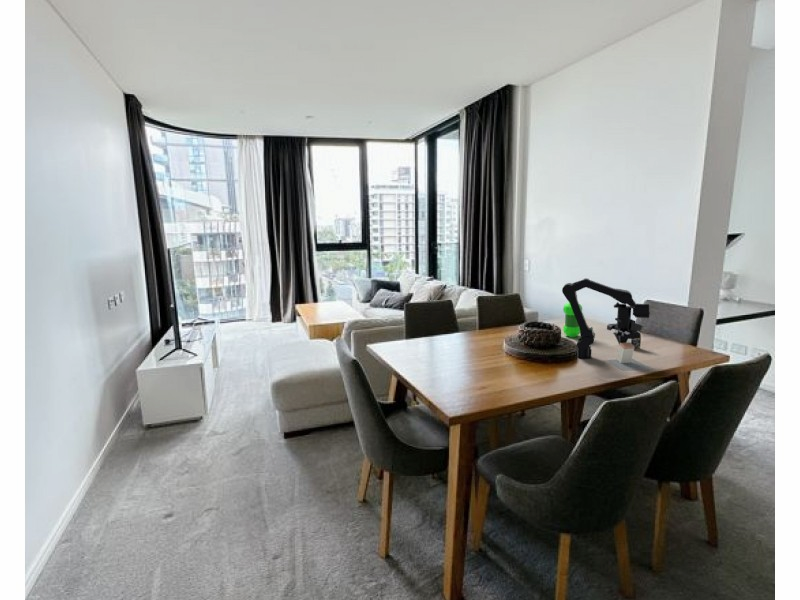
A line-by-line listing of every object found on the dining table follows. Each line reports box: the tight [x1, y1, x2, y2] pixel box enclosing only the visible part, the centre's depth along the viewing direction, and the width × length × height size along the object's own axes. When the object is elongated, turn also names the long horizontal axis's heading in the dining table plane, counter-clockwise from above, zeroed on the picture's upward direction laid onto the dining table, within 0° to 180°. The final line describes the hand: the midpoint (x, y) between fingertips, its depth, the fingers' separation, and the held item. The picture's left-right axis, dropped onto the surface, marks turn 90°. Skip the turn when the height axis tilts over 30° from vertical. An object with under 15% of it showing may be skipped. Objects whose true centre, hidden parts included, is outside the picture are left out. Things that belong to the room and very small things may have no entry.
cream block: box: [615, 342, 635, 363], centre depth 197 cm, size 5×4×9 cm
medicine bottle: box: [626, 329, 642, 350], centre depth 221 cm, size 7×7×12 cm
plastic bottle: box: [562, 301, 583, 338], centre depth 247 cm, size 10×10×25 cm
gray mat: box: [605, 358, 653, 371], centre depth 196 cm, size 14×15×1 cm
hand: (622, 348), depth 200 cm, fingers closed
